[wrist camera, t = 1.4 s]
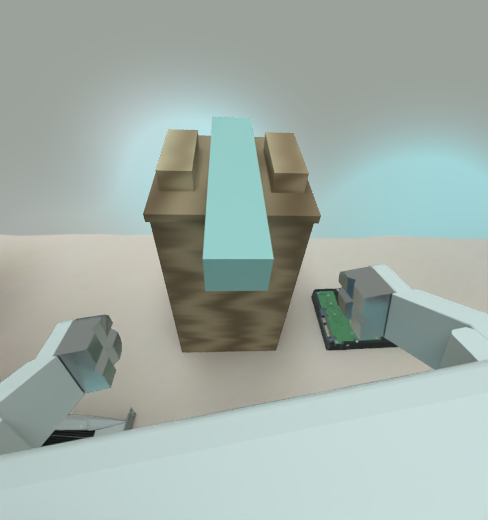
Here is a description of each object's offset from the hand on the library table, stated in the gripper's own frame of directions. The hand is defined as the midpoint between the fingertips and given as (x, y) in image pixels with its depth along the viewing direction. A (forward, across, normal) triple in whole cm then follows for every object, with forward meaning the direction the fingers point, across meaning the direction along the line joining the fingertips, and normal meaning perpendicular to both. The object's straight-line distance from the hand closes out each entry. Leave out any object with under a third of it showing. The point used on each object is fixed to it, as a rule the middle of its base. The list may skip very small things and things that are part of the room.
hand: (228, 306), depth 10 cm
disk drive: (+26, -20, +30) cm, 44 cm away
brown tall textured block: (+28, +2, +25) cm, 38 cm away
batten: (+16, -1, +2) cm, 16 cm away
